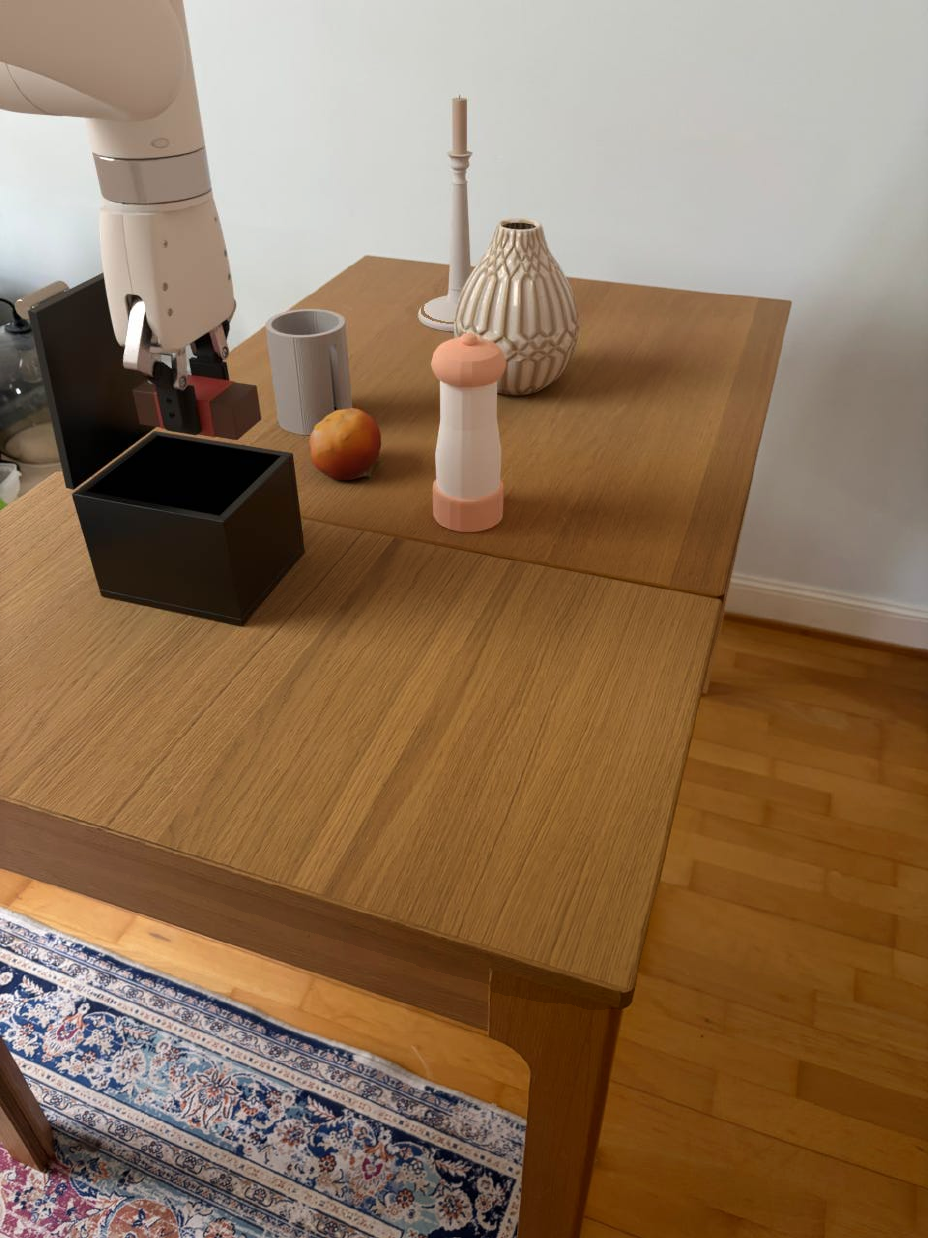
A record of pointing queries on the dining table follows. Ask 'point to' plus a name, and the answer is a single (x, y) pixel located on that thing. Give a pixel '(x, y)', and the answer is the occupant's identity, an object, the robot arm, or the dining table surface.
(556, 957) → the dining table surface
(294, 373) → the cup
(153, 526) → the trash bin
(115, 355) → the black lid
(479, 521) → the salt shaker
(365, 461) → the fruit
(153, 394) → the chocolate bar
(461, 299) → the vase
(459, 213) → the candlestick
